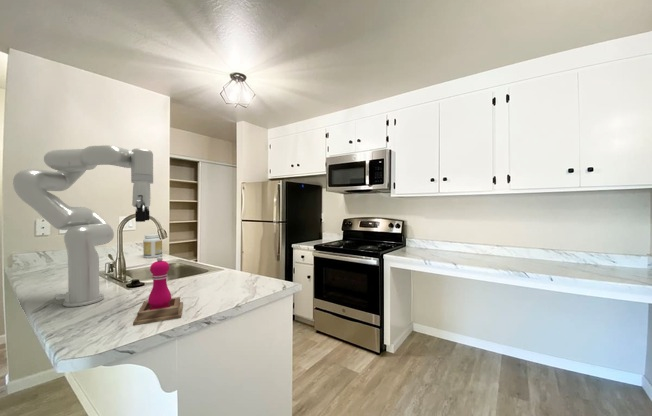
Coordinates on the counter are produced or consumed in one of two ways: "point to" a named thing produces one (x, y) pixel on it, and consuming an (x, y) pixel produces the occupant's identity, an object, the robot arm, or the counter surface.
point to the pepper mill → (159, 285)
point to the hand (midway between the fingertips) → (142, 220)
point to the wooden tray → (159, 312)
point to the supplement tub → (152, 246)
